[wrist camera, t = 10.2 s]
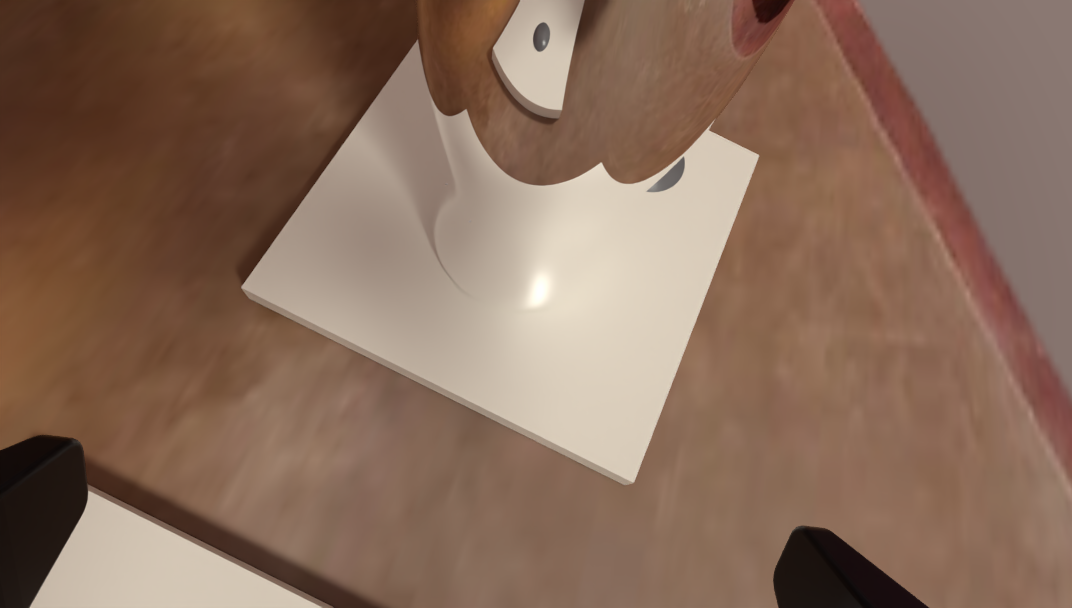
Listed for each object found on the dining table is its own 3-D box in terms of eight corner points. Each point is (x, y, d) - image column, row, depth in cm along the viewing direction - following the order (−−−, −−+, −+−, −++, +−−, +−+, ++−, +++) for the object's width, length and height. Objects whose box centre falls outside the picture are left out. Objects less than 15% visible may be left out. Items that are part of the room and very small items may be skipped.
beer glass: (509, 114, 24) (621, -444, 11) (651, 231, 24) (972, -203, 10) (375, 232, 22) (291, -296, 8) (529, 367, 21) (729, 42, 7)
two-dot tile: (747, 168, 27) (759, 155, 26) (624, 485, 21) (633, 482, 20) (444, 19, 27) (445, 0, 26) (249, 298, 22) (240, 287, 21)
